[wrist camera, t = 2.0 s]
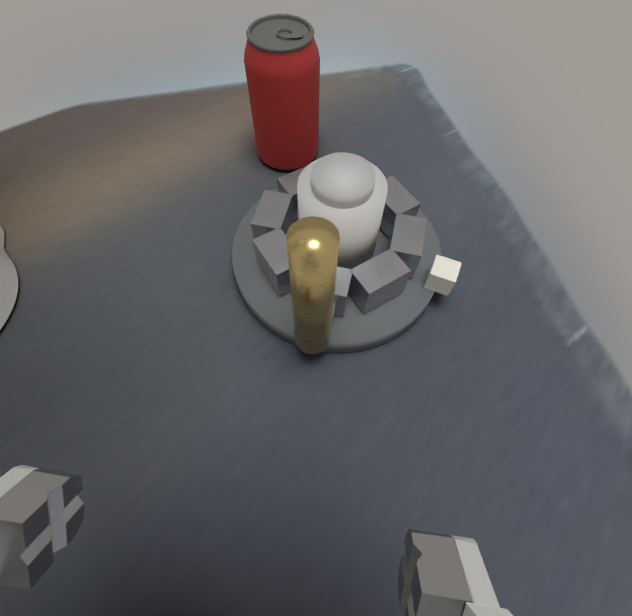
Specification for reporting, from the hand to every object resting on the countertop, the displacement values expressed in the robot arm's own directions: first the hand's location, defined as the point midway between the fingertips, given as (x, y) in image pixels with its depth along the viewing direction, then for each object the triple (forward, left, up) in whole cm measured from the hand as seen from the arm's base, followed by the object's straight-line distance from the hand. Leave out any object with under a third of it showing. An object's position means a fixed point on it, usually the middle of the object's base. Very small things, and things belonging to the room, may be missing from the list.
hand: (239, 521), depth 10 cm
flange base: (-1, +21, -18) cm, 28 cm away
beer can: (-9, +34, -18) cm, 40 cm away
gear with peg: (-1, +19, -16) cm, 25 cm away
